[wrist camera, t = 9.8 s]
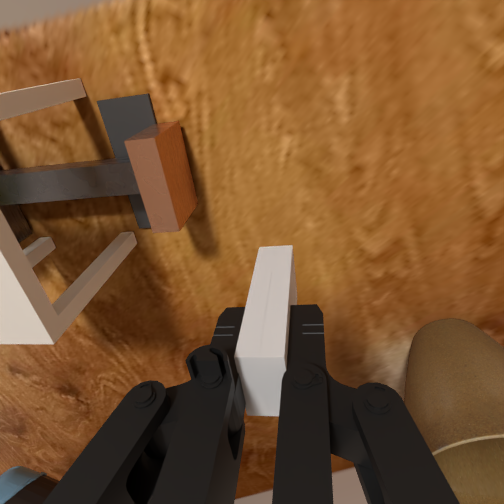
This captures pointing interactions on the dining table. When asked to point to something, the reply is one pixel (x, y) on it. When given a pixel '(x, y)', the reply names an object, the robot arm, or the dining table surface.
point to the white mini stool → (22, 261)
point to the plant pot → (460, 406)
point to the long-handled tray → (112, 181)
